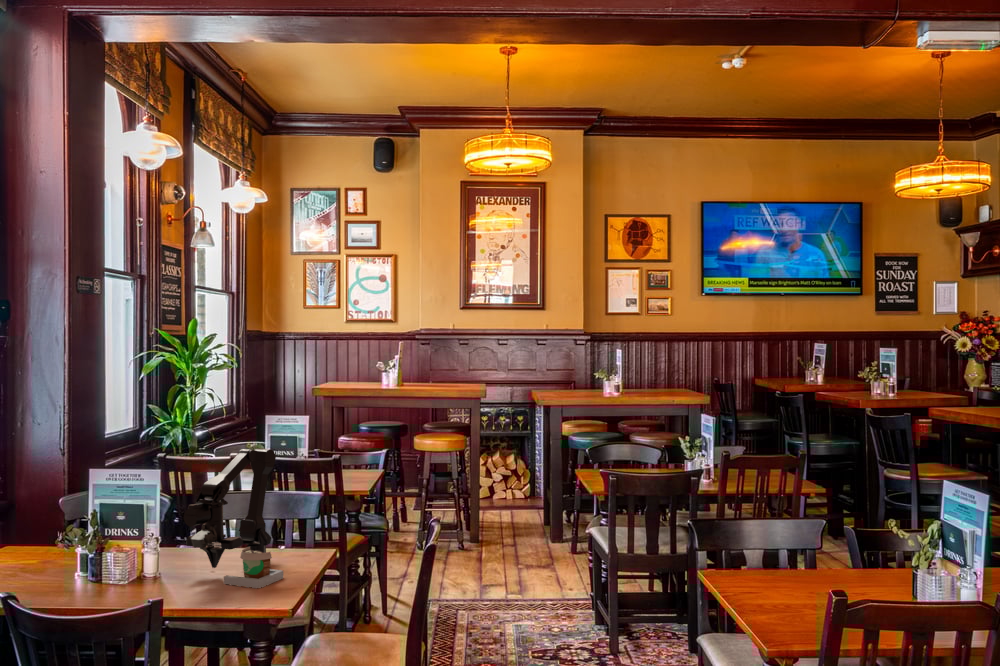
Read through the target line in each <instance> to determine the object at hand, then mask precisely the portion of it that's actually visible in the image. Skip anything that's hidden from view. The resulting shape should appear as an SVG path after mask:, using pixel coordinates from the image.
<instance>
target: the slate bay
mask: <svg viewBox="0 0 1000 666" xmlns="http://www.w3.org/2000/svg"><path fill="white" fill-rule="evenodd" d="M282 579H283V580H284V570H282V569H273V568H270V575H267V576H264V577H262V578H259V579H255V578H246V577H244V576H238V575H237V576H236V575H226V574H225V575H224V576H223V585H224V584H231V585H230V586H232V585H238V586H237V587H241V586H246V587H245V588H249V587H252V588H251V589H257V588H260V589H262V588H264V587H267V586H269V585H271V584H273V583H276V582H278V581H280V580H282ZM266 585H267V586H266ZM261 587H262V588H261Z"/></svg>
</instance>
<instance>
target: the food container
mask: <svg viewBox="0 0 1000 666" xmlns="http://www.w3.org/2000/svg"><path fill="white" fill-rule="evenodd" d="M240 552H241V553H240V559H241V560H242V567H243V577H246V578H255V579H259V578H262V577H264V576H267V575H270V569H271V559H272V557H273V556H272V554H271V553H272V552H271V551H266V553H263V552H261V551H254V550H250V547H247V546H246V547H245V548H243V549H242V550H241V551H240Z"/></svg>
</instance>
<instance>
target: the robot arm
mask: <svg viewBox="0 0 1000 666" xmlns="http://www.w3.org/2000/svg"><path fill="white" fill-rule="evenodd" d="M276 457H277V455H276V453H275V452H274V450H273V449H270V448H269V449H267V448H265V449H264V448H255V449H254V450H253V449H251V448H249V449H248V448H242V449H240V450H239V451H238V452H237V454H236V456H235V457H234V458H233V459H232V460H231V461H230V462H229V463H228V464H227V465H226V466H225V467H224V469H223V470H222V471H221V472H220V473H219V474H217V475H216V476H213V477H211V478H209V479H208V480H207V481H205V482H204V483H203V484H202V486H201V488H200V491H199V493H198V495H197V497H196V498H195V501H194V504H189V505H188V506H187V508H188V509H187V508H186V510H185V511H184V514H183V521H184V524H186V526H188V527H195V526H199V525H201V524H202V525H201V530H200V531H198V532H197V533H195V534H193V535H190V536H187V539H186V542H185V543H186V546H188V547H193V548H194V549H195V548H199V549H200V550H202V551H203V552H205V553H206V555H207V558H208V561H209V563H210V565H211V567H212V569H215V568H217V567H218V565H219V562H220V560H221V558H222V556H223V554H224V552H225V550H230V551H231V550H233V549H237V548H239V547H242V546H243V545H247V546H246V548H247V547H250V550H254V551H261V552H263V553H266V552H267V546H268V545H270V544H271V542H272V536H271V535H270V534H269V533H268V532H267V531H266V527H267V526H266V524H267V523H266V522H265V519H264V516H263V514H264V507H265V506H264V505H265V499H266V493H267V485H268V477H269V474H270V473H271V471H272V470H273V469H274V467H275V462H276V460H277V458H276ZM249 464H250V468H251V470H252V473H253V476H252V482H251V484H252V485H251V488H250V489H251V490H250V497H249V504H248V505H249V506H248V511H247V515H246V516H245V518H244V519H241V520H240V522H239V529H238V532H239V536H230V537H228V538H227V533H226V534H225V533H224V526H226V525H227V524H226V523H227V522H226V521H224V506H225V505H228V503H229V502H228V501H227V500H225V497H226V495H228V493H229V492H230V488H231V487H230V486H231V485H232V483H233V481H234V480H235V479H236V478H237V477H238V476H239V475H240V474H241V472H243V470H245V468H246V467H247V466H248V465H249Z"/></svg>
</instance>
